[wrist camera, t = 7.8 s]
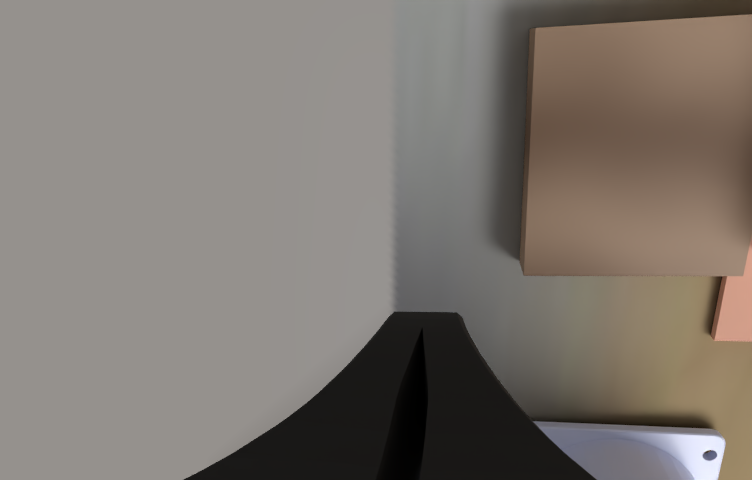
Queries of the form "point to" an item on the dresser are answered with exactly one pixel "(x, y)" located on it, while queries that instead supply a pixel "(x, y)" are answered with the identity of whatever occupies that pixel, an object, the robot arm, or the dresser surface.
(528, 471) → the robot arm
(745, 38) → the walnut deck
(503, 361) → the dresser surface
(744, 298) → the terracotta mat
